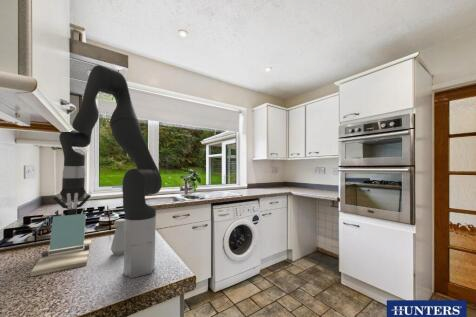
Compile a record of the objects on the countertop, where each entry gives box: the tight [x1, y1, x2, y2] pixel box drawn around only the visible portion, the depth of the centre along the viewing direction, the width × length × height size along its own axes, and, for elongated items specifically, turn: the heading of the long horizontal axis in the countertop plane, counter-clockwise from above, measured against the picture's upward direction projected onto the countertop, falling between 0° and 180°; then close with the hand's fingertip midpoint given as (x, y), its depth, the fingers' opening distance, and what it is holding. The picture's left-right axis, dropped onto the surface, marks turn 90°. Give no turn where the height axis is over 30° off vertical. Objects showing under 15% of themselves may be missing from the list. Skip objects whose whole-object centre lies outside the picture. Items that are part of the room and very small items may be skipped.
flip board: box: [29, 238, 93, 277], centre depth 77 cm, size 26×14×3 cm, turn 32°
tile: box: [48, 213, 87, 254], centre depth 79 cm, size 13×10×1 cm
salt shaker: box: [110, 218, 125, 256], centre depth 80 cm, size 6×6×13 cm
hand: (72, 217), depth 87 cm, fingers closed
